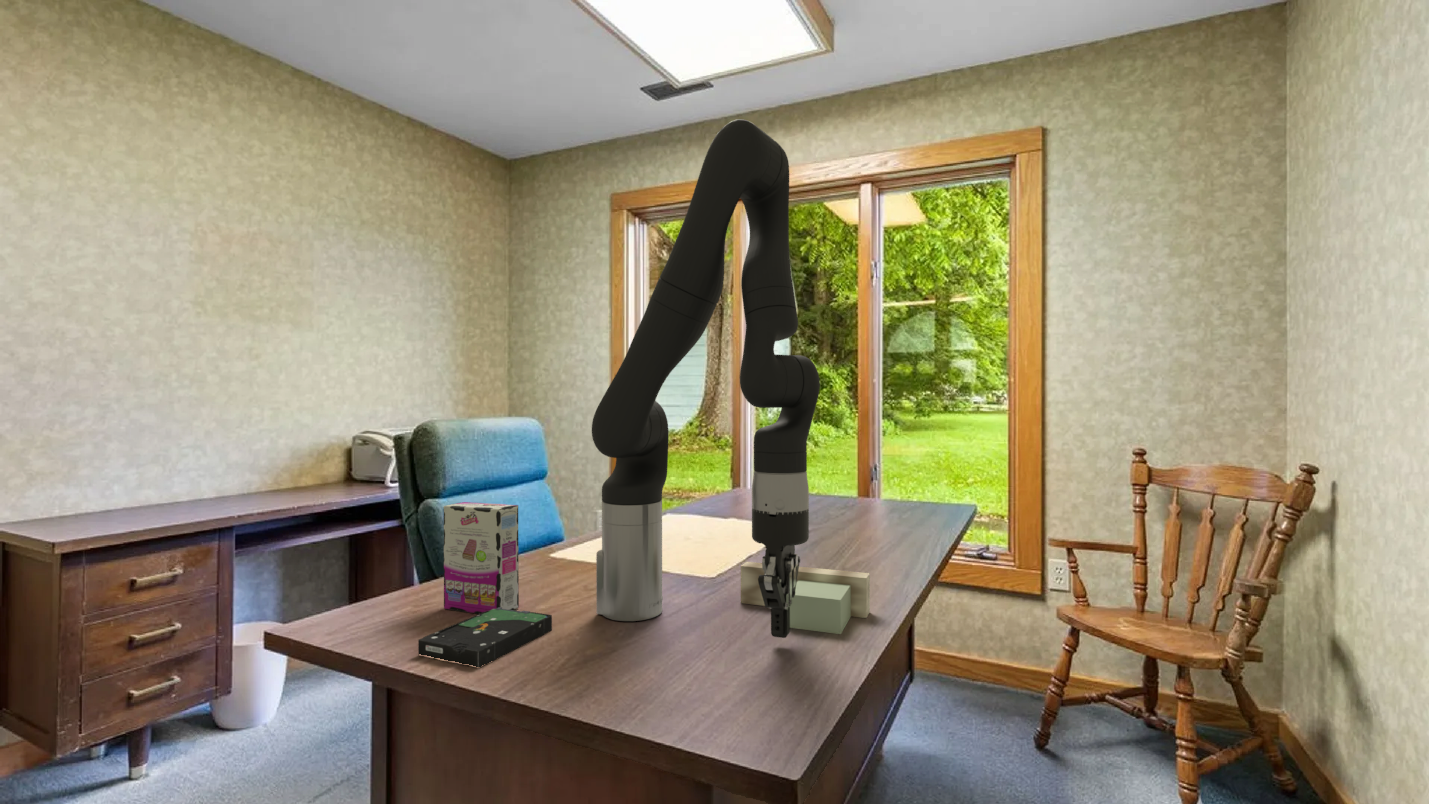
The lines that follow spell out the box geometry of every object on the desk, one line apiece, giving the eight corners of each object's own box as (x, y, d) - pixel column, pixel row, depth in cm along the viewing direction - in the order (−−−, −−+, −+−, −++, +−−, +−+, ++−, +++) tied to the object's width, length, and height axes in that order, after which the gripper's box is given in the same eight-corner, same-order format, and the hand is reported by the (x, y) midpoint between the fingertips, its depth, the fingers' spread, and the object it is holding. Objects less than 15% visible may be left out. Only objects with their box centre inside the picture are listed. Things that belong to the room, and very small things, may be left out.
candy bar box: (520, 608, 104) (520, 504, 104) (499, 618, 100) (498, 509, 100) (465, 600, 109) (464, 500, 109) (441, 609, 104) (441, 504, 104)
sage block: (785, 628, 96) (785, 594, 96) (799, 611, 103) (799, 579, 103) (840, 635, 93) (840, 600, 93) (850, 617, 100) (850, 584, 100)
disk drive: (480, 674, 81) (553, 632, 95) (479, 651, 81) (553, 613, 95) (416, 661, 85) (495, 623, 99) (416, 639, 85) (495, 604, 99)
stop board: (740, 603, 107) (740, 565, 107) (746, 597, 110) (746, 561, 110) (866, 618, 99) (866, 578, 99) (869, 612, 102) (869, 573, 102)
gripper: (766, 496, 95) (766, 617, 96) (737, 511, 83) (737, 649, 83) (818, 499, 93) (818, 623, 93) (796, 515, 80) (796, 657, 81)
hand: (780, 635), depth 88 cm, fingers closed
